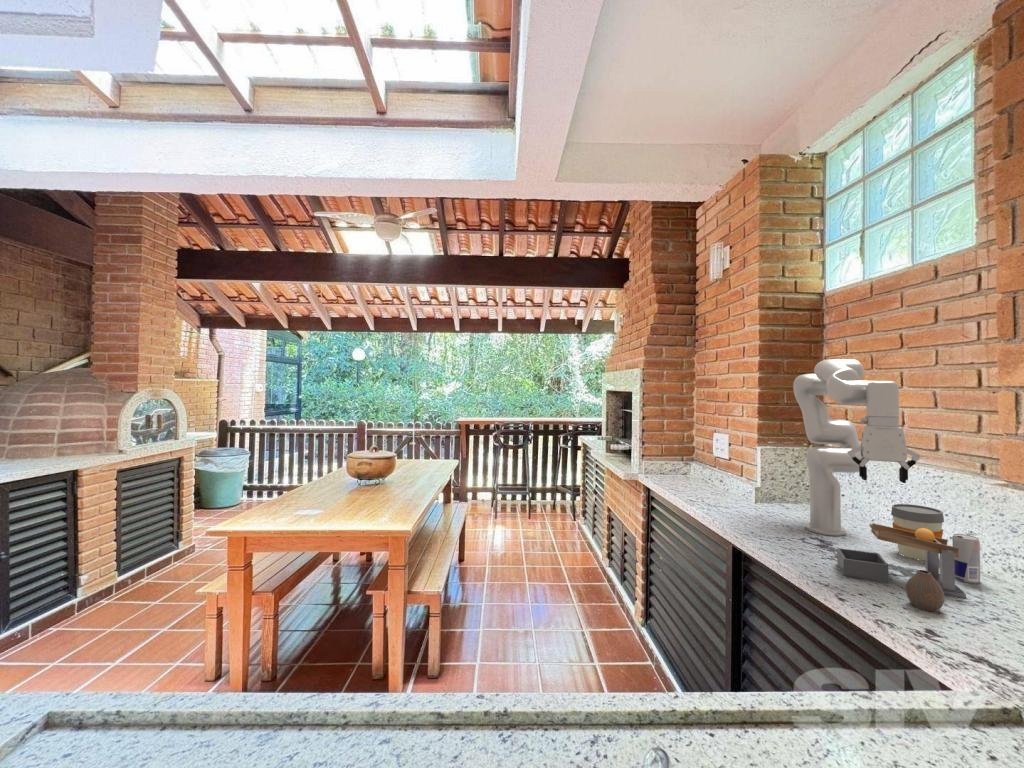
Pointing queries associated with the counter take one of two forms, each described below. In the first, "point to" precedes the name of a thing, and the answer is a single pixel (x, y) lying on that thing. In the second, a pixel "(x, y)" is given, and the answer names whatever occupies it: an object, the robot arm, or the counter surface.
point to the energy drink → (967, 558)
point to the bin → (862, 565)
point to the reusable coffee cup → (916, 524)
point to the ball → (924, 534)
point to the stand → (943, 571)
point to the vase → (925, 591)
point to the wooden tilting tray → (910, 539)
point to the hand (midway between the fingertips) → (883, 480)
